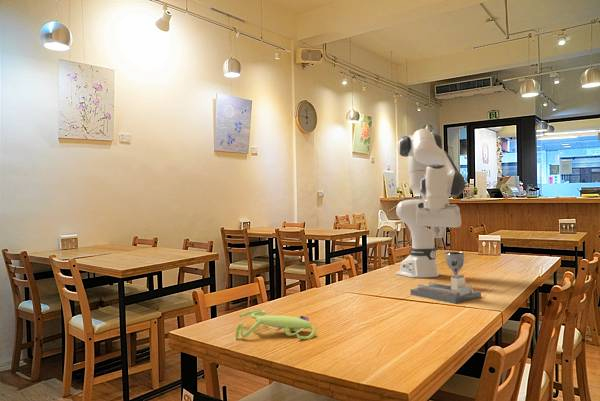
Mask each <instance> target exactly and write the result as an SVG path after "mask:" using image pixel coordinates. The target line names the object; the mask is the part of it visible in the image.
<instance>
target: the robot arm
mask: <svg viewBox="0 0 600 401" xmlns="http://www.w3.org/2000/svg"><path fill="white" fill-rule="evenodd" d="M396 146H397V152H398V153H399V154H398V155H400V156H401V157H405V158H407V157H409V158H408V164H407V165H408V167H407V169H408V170H407V171H408V172H407V173H408V183H409V184H408V186H409V189H410V190H411V191H413V192H414V193H416V194H418V195H420V197H421V198H419V199H417V198H416V199H405V200H401V201H399V202H398V203H397V205H396V209H395V211H396V216H397V217H398V219H399V220H401V221H402V222H403V223H404V224H405V225H406V226H407V227H408V229H409V232H410V238H411V246H412V247H411V248H409V249H408V250H407V251H408V252H409V255H408V256H407V257H405V259H403V260H402V261H401V262H400V266H399V270H396V272H395V274H396V275H399V276H404V277H408V278H414V279H415V278H424V279H425V278H436V277H439V276H440V273H439V270H438V266H437V261H436V260H437V259H436V257H437V256H436V255H437V250H436V249H437V248H436V247H435V238H437V239H442V238H444V233H445V230H446V228H454V229H455V228H460V227H461V226H462V217H461V216H462V215H461V212H460V210H461V209H460V207H459V205H457V203H452V204H451V203H449V202H450V200H449V196H451V197H455V196H456V197H458V196H460V195H461V194H462V193H463V192H465V189H466V181H465V178H464V176H463V174H462V173H461V172H460V171H459V170H458V168H457V166H456V164H455V163H454V161H453V159H452V158H451V156H450V154H449V153H448V152H447V151H445V150H444V149H443V146H444V141H443V139H442V136H441V135H440V134H438V133H432V132H431V131H430V130H429V129H428V128H427V129H426V128H420V129H417V130H416V131H414V133H413V134H412V135H404V136H401V137H400V138H399V139H398V142H397V145H396ZM430 227H431V229H430ZM438 230H439V231H438Z"/></svg>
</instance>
